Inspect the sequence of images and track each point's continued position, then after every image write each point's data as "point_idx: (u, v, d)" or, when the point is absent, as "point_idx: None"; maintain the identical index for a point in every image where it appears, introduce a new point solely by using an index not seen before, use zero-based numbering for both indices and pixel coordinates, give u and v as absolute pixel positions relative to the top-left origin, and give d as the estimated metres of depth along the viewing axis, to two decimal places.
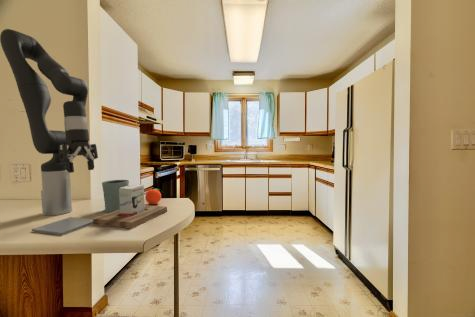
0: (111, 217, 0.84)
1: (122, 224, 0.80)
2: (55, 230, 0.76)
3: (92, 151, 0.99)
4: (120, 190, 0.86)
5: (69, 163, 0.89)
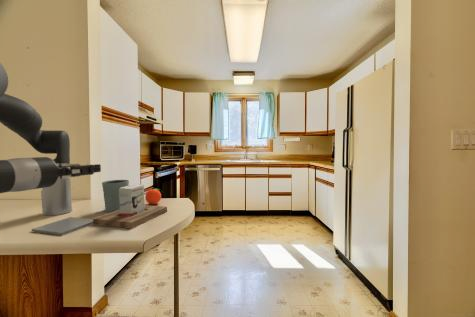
0: (111, 217, 0.84)
1: (122, 224, 0.80)
2: (55, 230, 0.76)
3: None
4: (120, 190, 0.86)
5: None
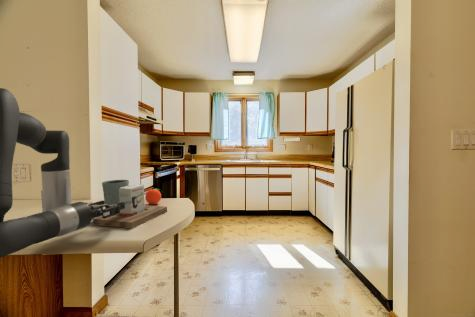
0: (111, 217, 0.84)
1: (122, 224, 0.80)
2: None
3: None
4: (120, 190, 0.86)
5: None
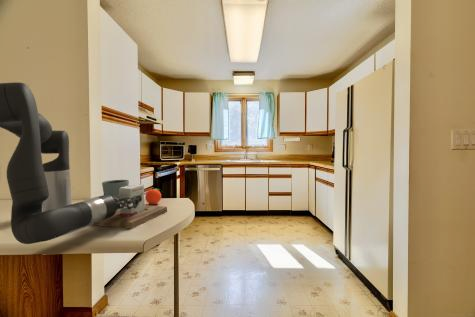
0: (111, 217, 0.84)
1: (122, 224, 0.80)
2: None
3: None
4: (120, 190, 0.86)
5: None
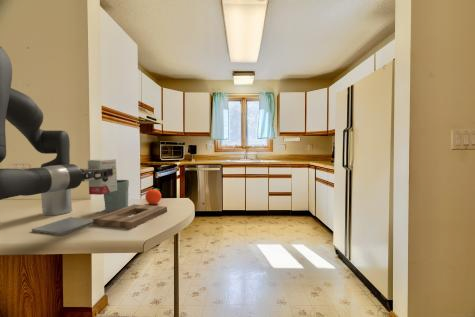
0: (111, 217, 0.84)
1: (122, 224, 0.80)
2: (55, 230, 0.76)
3: None
4: (89, 162, 0.82)
5: None
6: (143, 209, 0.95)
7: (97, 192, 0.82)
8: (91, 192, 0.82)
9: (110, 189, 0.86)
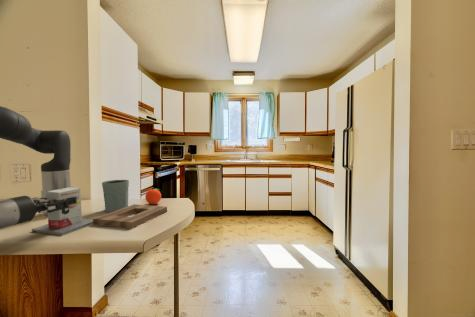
0: (111, 217, 0.84)
1: (122, 224, 0.80)
2: (55, 230, 0.76)
3: None
4: (47, 194, 0.77)
5: None
6: (143, 209, 0.95)
7: (56, 226, 0.77)
8: (50, 226, 0.77)
9: (72, 221, 0.81)
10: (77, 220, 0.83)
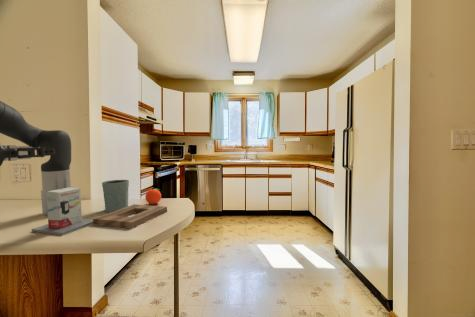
0: (111, 217, 0.84)
1: (122, 224, 0.80)
2: (55, 230, 0.76)
3: None
4: (47, 194, 0.77)
5: None
6: (143, 209, 0.95)
7: (56, 226, 0.77)
8: (50, 226, 0.77)
9: (72, 221, 0.81)
10: (77, 220, 0.83)
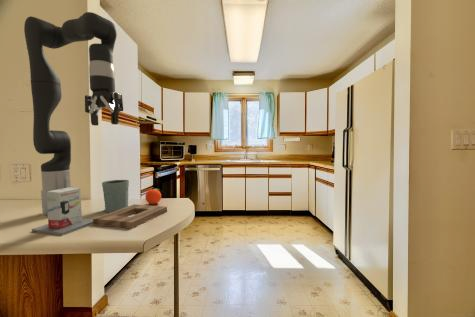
0: (111, 217, 0.84)
1: (122, 224, 0.80)
2: (55, 230, 0.76)
3: None
4: (47, 194, 0.77)
5: (91, 115, 0.85)
6: (143, 209, 0.95)
7: (56, 226, 0.77)
8: (50, 226, 0.77)
9: (72, 221, 0.81)
10: (77, 220, 0.83)
